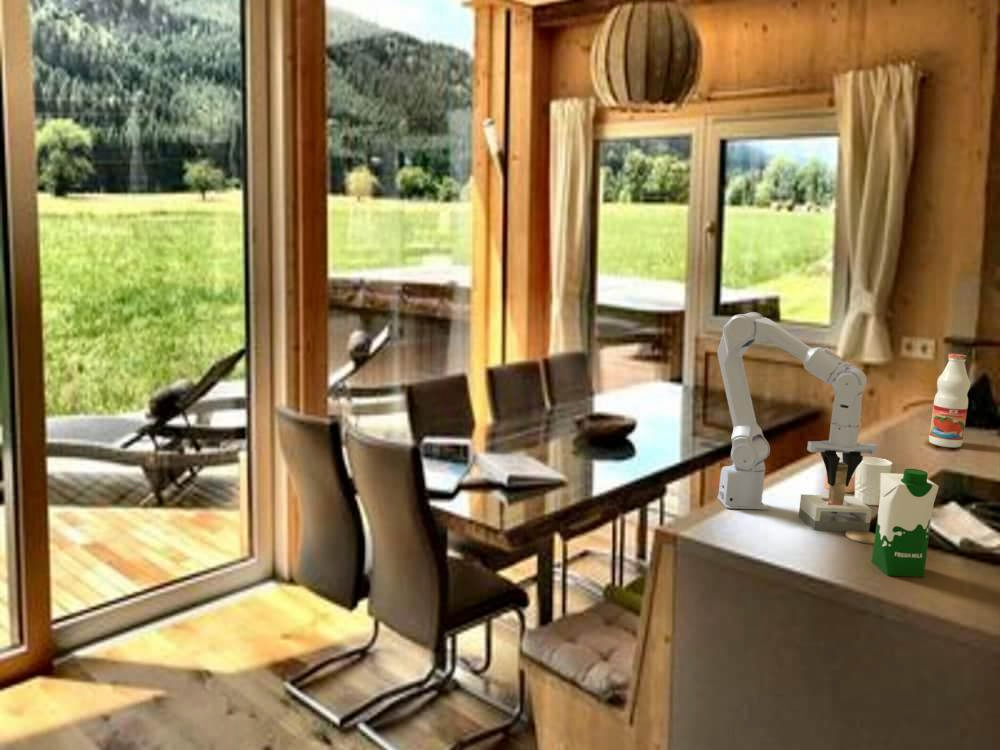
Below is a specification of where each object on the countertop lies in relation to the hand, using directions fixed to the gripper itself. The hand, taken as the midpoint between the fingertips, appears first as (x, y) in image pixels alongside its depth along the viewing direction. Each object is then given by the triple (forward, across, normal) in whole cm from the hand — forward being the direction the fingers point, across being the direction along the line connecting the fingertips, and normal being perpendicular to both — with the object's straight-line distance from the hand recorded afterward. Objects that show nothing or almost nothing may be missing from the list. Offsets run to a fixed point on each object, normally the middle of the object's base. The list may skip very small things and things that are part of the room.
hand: (837, 484), depth 197 cm
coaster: (+9, +3, -8) cm, 13 cm away
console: (+9, 0, 0) cm, 9 cm away
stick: (+4, 0, 0) cm, 4 cm away
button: (+6, 0, 0) cm, 6 cm away
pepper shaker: (+9, +13, +28) cm, 32 cm away
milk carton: (+9, +2, -26) cm, 27 cm away
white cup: (+9, +16, +18) cm, 25 cm away
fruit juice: (+9, +68, +80) cm, 105 cm away
